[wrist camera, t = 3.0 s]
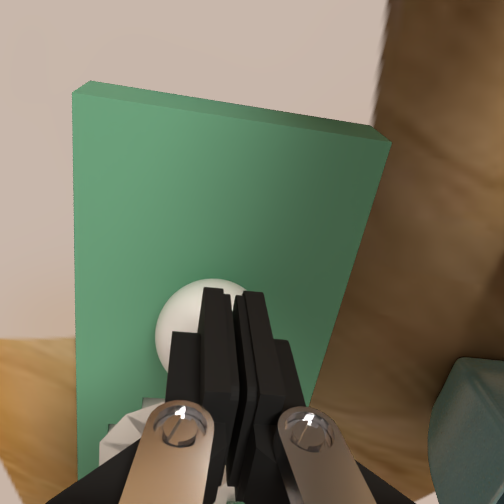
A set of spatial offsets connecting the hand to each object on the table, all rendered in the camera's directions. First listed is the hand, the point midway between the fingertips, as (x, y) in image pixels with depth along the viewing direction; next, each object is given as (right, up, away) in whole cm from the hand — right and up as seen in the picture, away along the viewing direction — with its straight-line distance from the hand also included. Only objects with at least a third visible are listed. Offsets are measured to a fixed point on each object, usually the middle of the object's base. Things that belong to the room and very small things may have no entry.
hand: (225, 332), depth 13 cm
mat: (-2, -3, +15) cm, 15 cm away
